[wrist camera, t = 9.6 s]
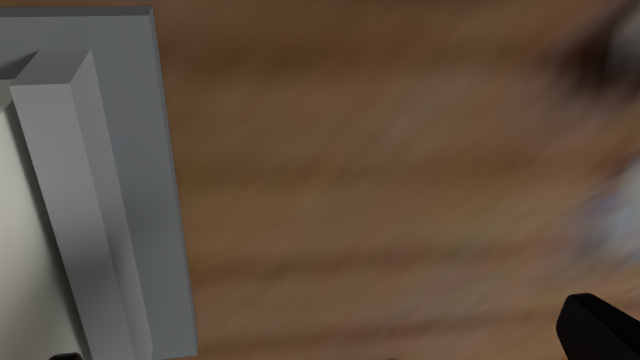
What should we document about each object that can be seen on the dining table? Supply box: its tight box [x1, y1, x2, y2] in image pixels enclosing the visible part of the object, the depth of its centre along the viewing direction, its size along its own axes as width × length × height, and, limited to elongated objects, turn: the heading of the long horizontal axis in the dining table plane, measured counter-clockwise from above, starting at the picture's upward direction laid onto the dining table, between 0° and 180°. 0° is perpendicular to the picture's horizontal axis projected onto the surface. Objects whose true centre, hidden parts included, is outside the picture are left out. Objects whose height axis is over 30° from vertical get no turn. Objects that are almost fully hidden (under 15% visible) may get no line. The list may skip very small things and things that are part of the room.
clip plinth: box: [0, 6, 198, 360], centre depth 19 cm, size 16×11×4 cm
